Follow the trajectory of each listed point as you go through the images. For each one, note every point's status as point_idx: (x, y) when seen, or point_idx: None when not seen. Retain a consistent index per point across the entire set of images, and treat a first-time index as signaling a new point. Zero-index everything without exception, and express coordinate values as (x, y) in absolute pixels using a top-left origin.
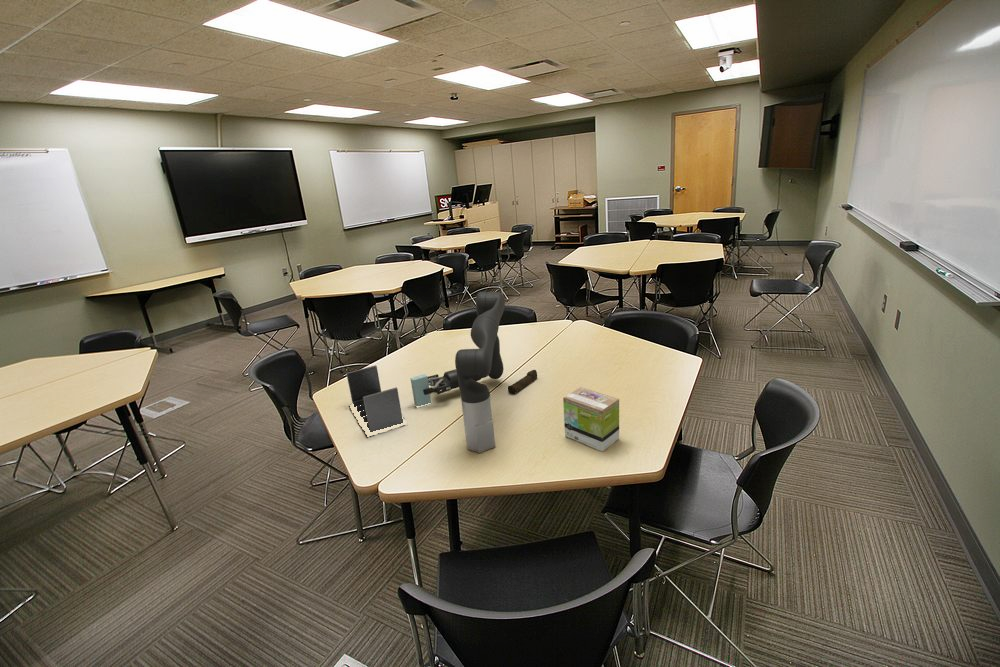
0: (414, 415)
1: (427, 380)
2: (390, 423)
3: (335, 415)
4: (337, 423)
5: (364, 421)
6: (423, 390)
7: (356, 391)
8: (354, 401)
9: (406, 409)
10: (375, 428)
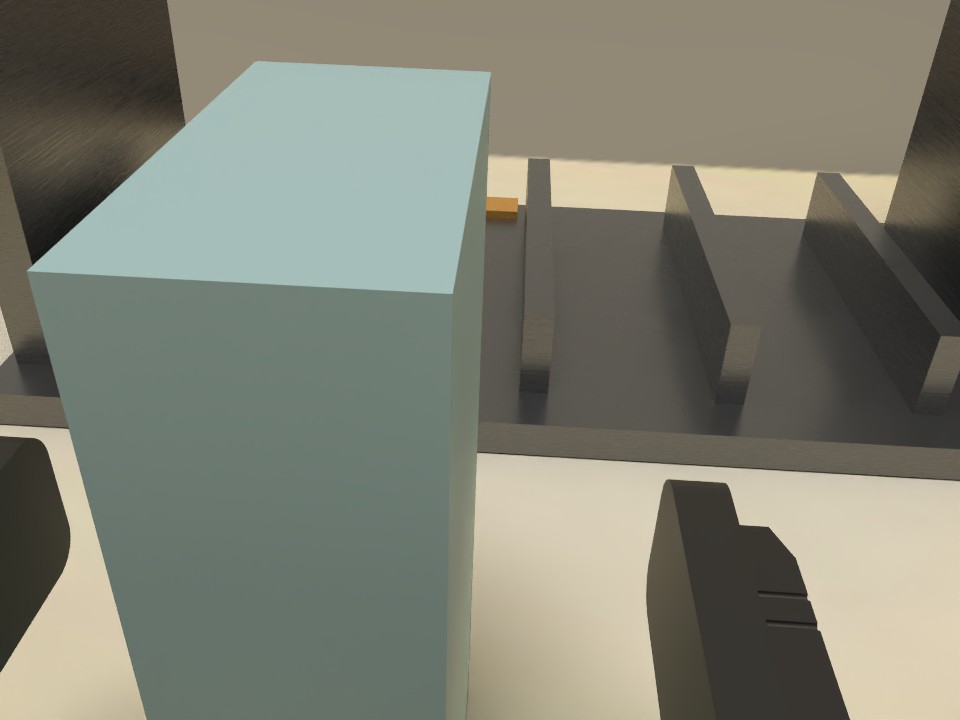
0: None
1: (90, 446)
2: None
3: (775, 188)
4: (611, 175)
5: None
6: (27, 442)
7: (948, 112)
8: (897, 207)
9: None
10: None
